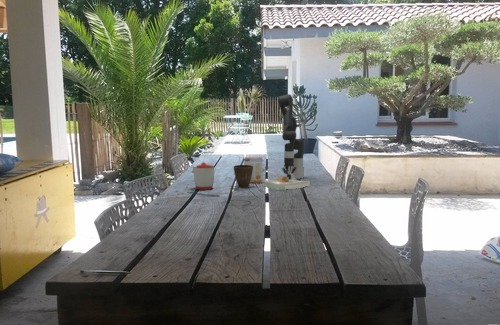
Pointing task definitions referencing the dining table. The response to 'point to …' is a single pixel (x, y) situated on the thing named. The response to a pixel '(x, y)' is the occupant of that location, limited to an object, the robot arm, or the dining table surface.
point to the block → (283, 179)
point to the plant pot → (243, 175)
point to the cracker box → (255, 168)
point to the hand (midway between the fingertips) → (288, 179)
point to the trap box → (286, 184)
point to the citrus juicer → (203, 176)
